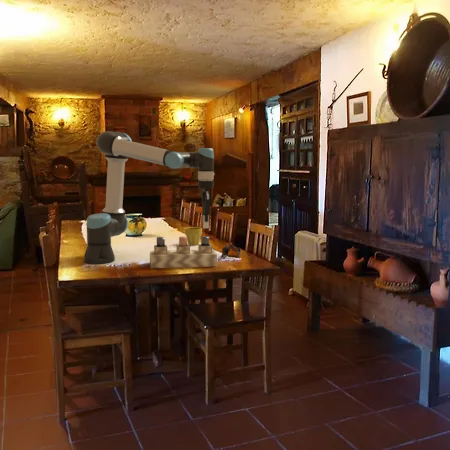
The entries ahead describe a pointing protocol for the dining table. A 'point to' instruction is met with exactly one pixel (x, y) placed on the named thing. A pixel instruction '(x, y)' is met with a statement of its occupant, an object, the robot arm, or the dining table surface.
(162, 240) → the knob near
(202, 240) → the knob far
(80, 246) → the dining table surface
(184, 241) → the knob middle
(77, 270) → the dining table surface
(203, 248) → the beige long block
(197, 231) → the plant pot
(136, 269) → the dining table surface
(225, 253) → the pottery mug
